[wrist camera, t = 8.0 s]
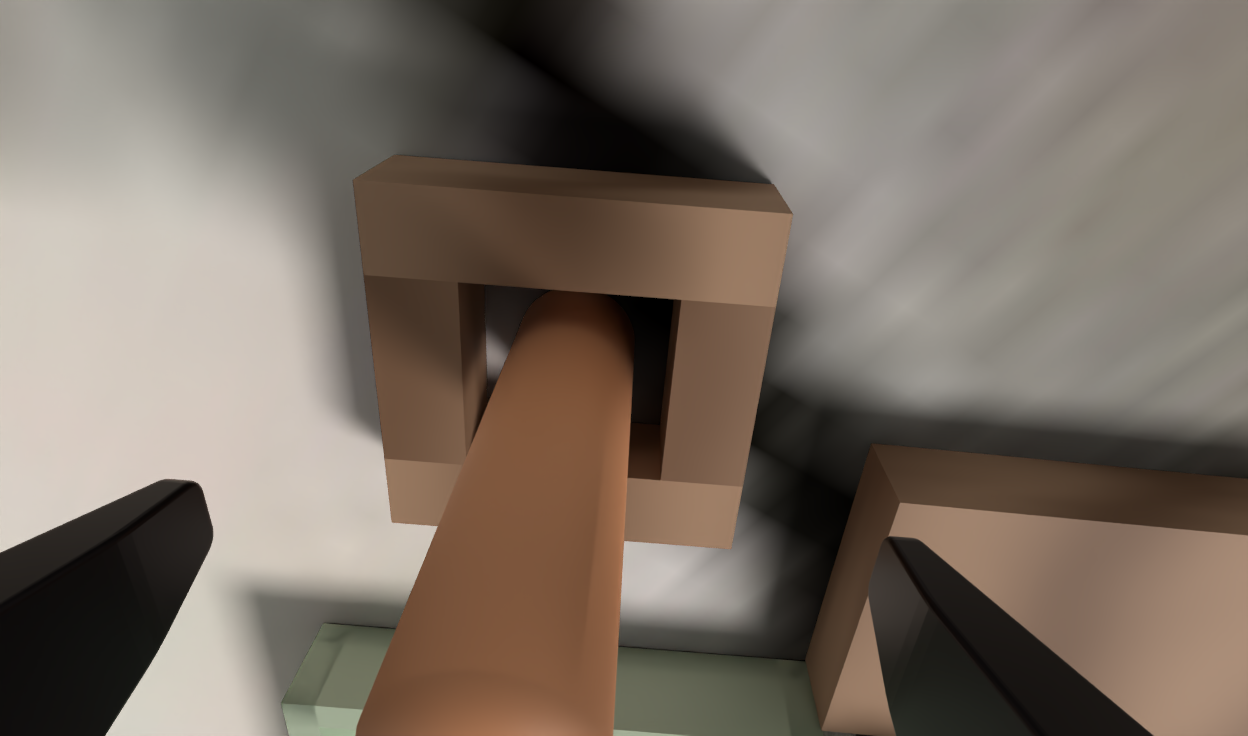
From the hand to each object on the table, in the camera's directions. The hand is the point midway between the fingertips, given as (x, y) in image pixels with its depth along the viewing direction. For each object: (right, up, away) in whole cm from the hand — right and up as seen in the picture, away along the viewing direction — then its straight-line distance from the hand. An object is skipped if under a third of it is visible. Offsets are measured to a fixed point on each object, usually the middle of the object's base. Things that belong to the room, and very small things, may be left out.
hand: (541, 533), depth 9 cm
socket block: (0, +3, +5) cm, 6 cm away
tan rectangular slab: (+11, -3, +8) cm, 14 cm away
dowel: (0, +3, +5) cm, 6 cm away
